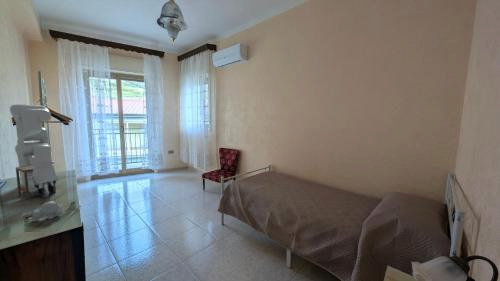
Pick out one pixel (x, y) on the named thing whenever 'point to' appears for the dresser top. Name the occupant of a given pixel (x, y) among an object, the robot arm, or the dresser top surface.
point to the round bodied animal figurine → (47, 211)
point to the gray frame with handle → (33, 194)
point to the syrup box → (32, 188)
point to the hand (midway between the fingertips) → (46, 192)
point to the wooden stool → (25, 170)
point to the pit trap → (22, 190)
